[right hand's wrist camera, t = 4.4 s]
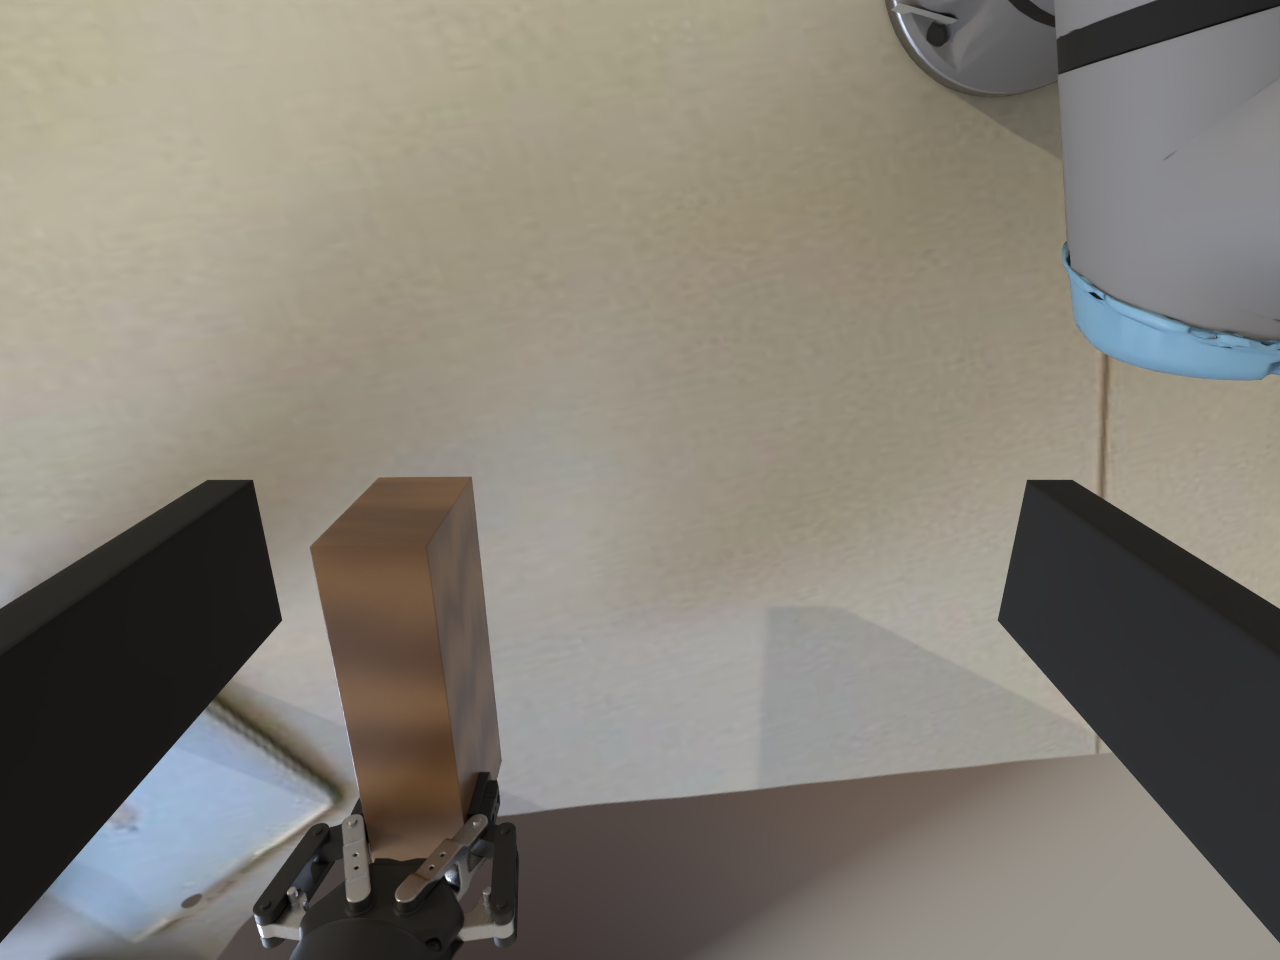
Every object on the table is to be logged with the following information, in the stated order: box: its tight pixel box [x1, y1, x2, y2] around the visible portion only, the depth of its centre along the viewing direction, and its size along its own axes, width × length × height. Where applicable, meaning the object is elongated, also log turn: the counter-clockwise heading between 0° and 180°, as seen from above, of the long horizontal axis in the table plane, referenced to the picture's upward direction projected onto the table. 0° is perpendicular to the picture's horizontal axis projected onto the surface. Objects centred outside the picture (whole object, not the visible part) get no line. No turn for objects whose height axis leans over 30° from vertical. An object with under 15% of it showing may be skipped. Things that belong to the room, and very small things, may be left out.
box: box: [310, 477, 502, 863], centre depth 44 cm, size 23×6×10 cm, turn 1°
